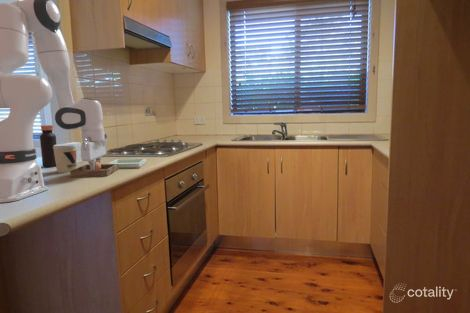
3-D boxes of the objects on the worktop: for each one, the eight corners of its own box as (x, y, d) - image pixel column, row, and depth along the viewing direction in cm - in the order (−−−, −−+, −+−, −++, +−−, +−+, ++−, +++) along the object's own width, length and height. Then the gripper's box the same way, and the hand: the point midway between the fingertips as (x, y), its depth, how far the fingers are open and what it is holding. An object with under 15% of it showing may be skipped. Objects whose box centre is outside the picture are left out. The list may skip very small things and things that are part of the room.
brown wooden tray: (107, 176, 137) (106, 170, 136) (70, 177, 136) (70, 171, 135) (118, 169, 152) (118, 163, 152) (85, 170, 151) (85, 164, 151)
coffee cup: (69, 173, 144) (66, 146, 142) (50, 172, 146) (47, 145, 144) (82, 169, 153) (80, 143, 151) (65, 169, 155) (62, 143, 153)
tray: (139, 168, 154) (139, 163, 154) (106, 168, 153) (106, 164, 153) (146, 162, 169) (146, 158, 169) (116, 163, 168) (116, 159, 168)
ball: (99, 172, 142) (98, 162, 141) (88, 172, 142) (88, 162, 141) (102, 170, 146) (102, 160, 145) (92, 170, 146) (91, 161, 145)
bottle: (40, 166, 162) (36, 125, 159) (54, 164, 167) (50, 125, 164) (46, 168, 158) (42, 126, 155) (61, 166, 163) (57, 125, 160)
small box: (74, 161, 176) (72, 142, 175) (83, 162, 175) (81, 142, 173) (62, 164, 168) (61, 143, 167) (72, 164, 167) (70, 143, 165)
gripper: (91, 138, 131) (94, 172, 133) (108, 134, 152) (110, 164, 154) (75, 138, 131) (78, 173, 133) (94, 134, 151) (96, 164, 153)
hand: (95, 168), depth 144 cm, fingers closed on ball, 4 cm apart
